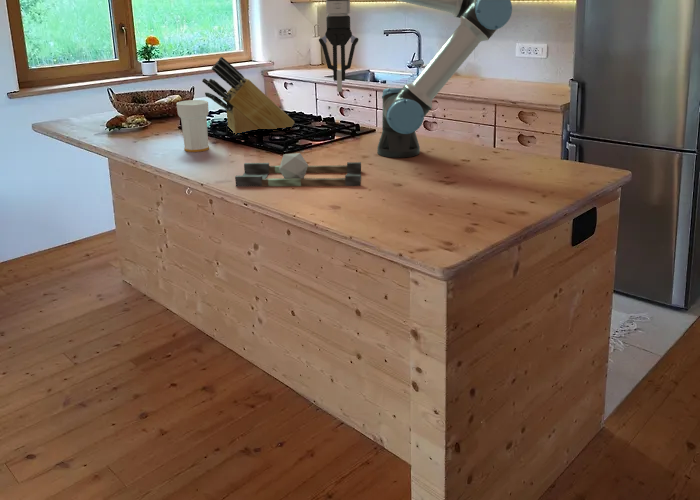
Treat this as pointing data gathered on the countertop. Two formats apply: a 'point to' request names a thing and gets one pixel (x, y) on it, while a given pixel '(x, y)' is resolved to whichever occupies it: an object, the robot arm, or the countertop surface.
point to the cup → (194, 124)
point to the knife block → (245, 102)
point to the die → (293, 166)
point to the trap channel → (260, 171)
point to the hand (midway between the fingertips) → (339, 90)
